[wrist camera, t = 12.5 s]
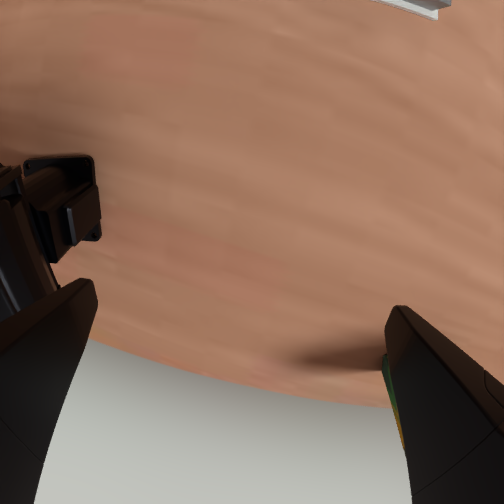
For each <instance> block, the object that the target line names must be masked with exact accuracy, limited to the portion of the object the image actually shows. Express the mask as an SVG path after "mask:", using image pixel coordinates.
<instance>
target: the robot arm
mask: <svg viewBox="0 0 504 504" xmlns="http://www.w3.org/2000/svg"><path fill="white" fill-rule="evenodd" d="M85 161H87V162H88V163H89V165H88V166H87V165H86V164H85ZM28 164H29V165H30V167H29V166H28ZM23 169H24V176H25V178H23V179H22V177H21V174H22V170H21V166H20V165H17V166H14V167H11V165H10V166H7V167H5V166H3V165H2V164H1V163H0V504H34V500H35V495H36V492H37V488H38V484H39V480H40V476H41V473H42V469H43V465H44V464H43V463H44V461H45V458H46V454H47V451H48V447H49V444H50V441H51V438H52V435H53V432H54V429H55V426H56V423H57V420H58V417H59V414H60V412H61V409H62V406H63V403H64V400H65V397H66V395H67V392H68V390H69V387H70V384H71V382H72V379H73V377H74V374H75V371H76V369H77V366H78V364H79V362H80V359H81V356H82V354H83V352H84V349H85V346H86V343H87V340H88V337H89V333H90V330H91V327H92V324H93V321H94V317H95V314H96V311H97V308H98V299H97V295H96V291H95V287H94V283H93V281H92V280H91V279H85V278H79V279H77V280H75V281H73V282H71V283H69V284H67V285H66V286H64V287H62V288H61V286H60V285H58V283H57V280H56V278H55V276H54V273H53V271H52V268H51V266H50V263H58V261H59V260H60V259H61V258H62V257H63V256H64V255H65V254H66V252H67V251H68V250H69V249H70V248H71V247H72V246H74V247H75V246H76V245H77V244H78V243H79V242H80V241H81V240H82V241H94V242H95V241H98V240H99V239H100V238H101V236H102V232H101V224H100V219H101V210H100V202H99V192H98V186H97V185H96V179H95V167H94V160H93V158H92V157H91V156H65V157H47V158H33V159H28V160H26V161H25V162H24V164H23ZM93 233H96V235H97V236H95V235H94V234H93ZM384 333H385V340H386V347H387V355H388V363H389V371H390V377H391V382H392V386H393V391H394V395H395V400H396V405H397V410H398V415H399V420H400V425H401V430H402V436H403V441H404V447H405V453H406V459H407V466H408V473H409V480H410V487H411V495H412V504H504V385H503V384H502V383H500V382H499V381H498V380H497V379H496V378H494V377H493V376H492V375H491V374H490V373H489V372H488V371H486V370H484V368H483V367H482V366H480V365H479V364H478V363H477V362H476V361H475V360H473V359H472V358H471V357H470V356H469V355H467V354H466V353H465V352H464V351H463V350H461V349H460V348H459V347H458V346H457V345H455V344H454V343H453V342H452V341H450V340H449V339H448V338H447V337H446V336H444V335H443V334H442V333H441V332H439V331H438V330H437V329H436V328H434V327H433V326H432V325H431V324H429V323H428V322H427V321H426V320H424V319H423V318H422V317H421V316H419V315H418V314H417V313H416V312H414V311H413V310H412V309H411V308H409V307H408V306H405V305H396V306H394V307H393V309H392V311H391V313H390V315H389V318H388V320H387V323H386V325H385V330H384Z"/></svg>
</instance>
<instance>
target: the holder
mask: <svg viewBox="0 0 504 504" xmlns="http://www.w3.org/2000/svg"><path fill="white" fill-rule="evenodd" d="M372 1H375V2H379V3H382V4H386V5H389V6H392V7H396V8H399V9H402V10H405V11H408V12H411V13H414V14H416V15H419V16H422V17H425V18H427V19H430V20H432V21H435V20H438V9H441V8H445V7H448V6H451V0H372Z"/></svg>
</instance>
